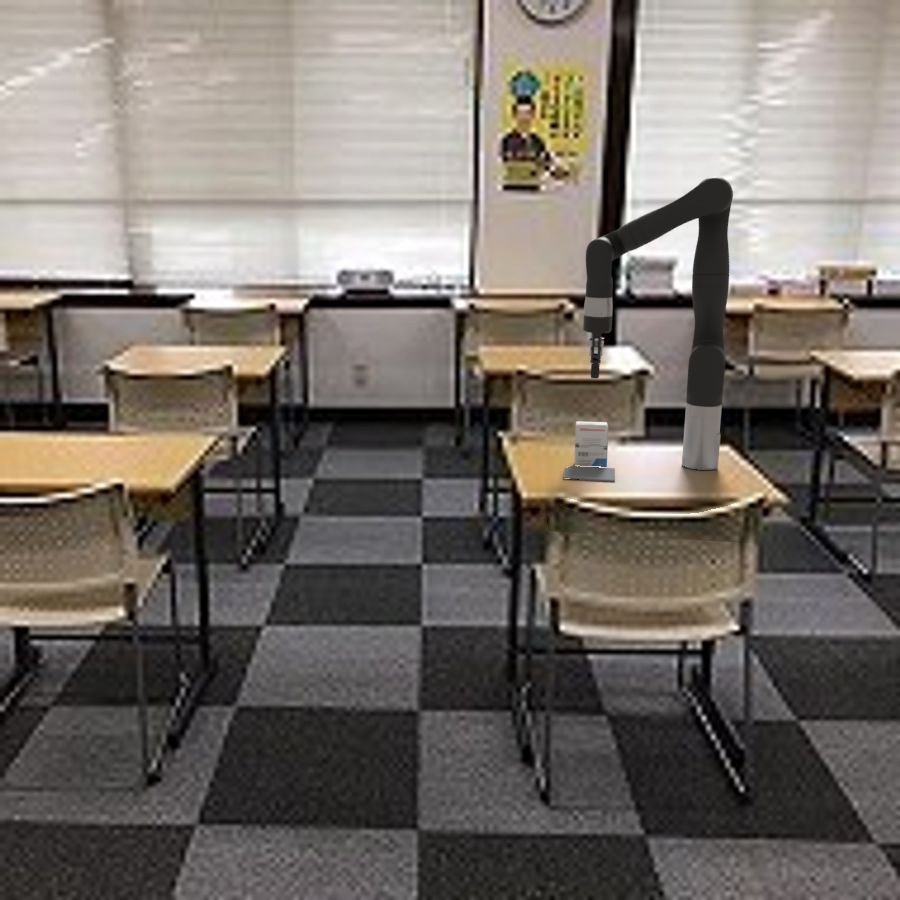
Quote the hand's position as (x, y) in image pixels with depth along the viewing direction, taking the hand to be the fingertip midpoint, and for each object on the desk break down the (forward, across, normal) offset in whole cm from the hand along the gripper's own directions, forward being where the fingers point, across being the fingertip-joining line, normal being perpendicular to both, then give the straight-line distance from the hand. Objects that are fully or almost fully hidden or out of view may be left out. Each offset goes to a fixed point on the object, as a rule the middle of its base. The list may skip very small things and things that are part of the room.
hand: (594, 377), depth 283 cm
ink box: (+22, -9, 0) cm, 24 cm away
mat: (+22, -18, 0) cm, 29 cm away
